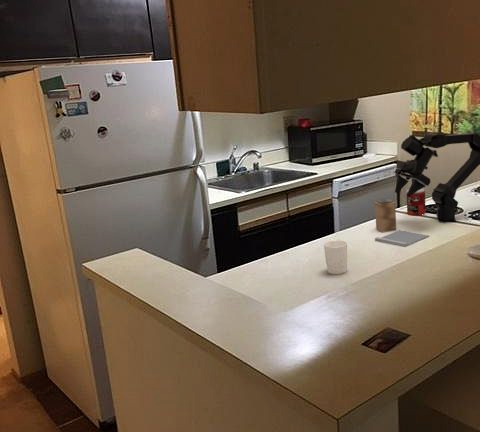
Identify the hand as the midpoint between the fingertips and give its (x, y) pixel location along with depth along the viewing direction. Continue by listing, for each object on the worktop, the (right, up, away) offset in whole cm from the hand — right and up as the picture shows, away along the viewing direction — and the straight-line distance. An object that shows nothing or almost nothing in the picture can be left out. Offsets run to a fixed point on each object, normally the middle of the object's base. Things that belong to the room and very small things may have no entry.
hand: (401, 194), depth 227 cm
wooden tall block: (-5, -15, +4) cm, 16 cm away
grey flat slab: (-2, -18, -9) cm, 20 cm away
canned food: (+13, -8, +23) cm, 28 cm away
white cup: (-33, -28, -35) cm, 56 cm away
